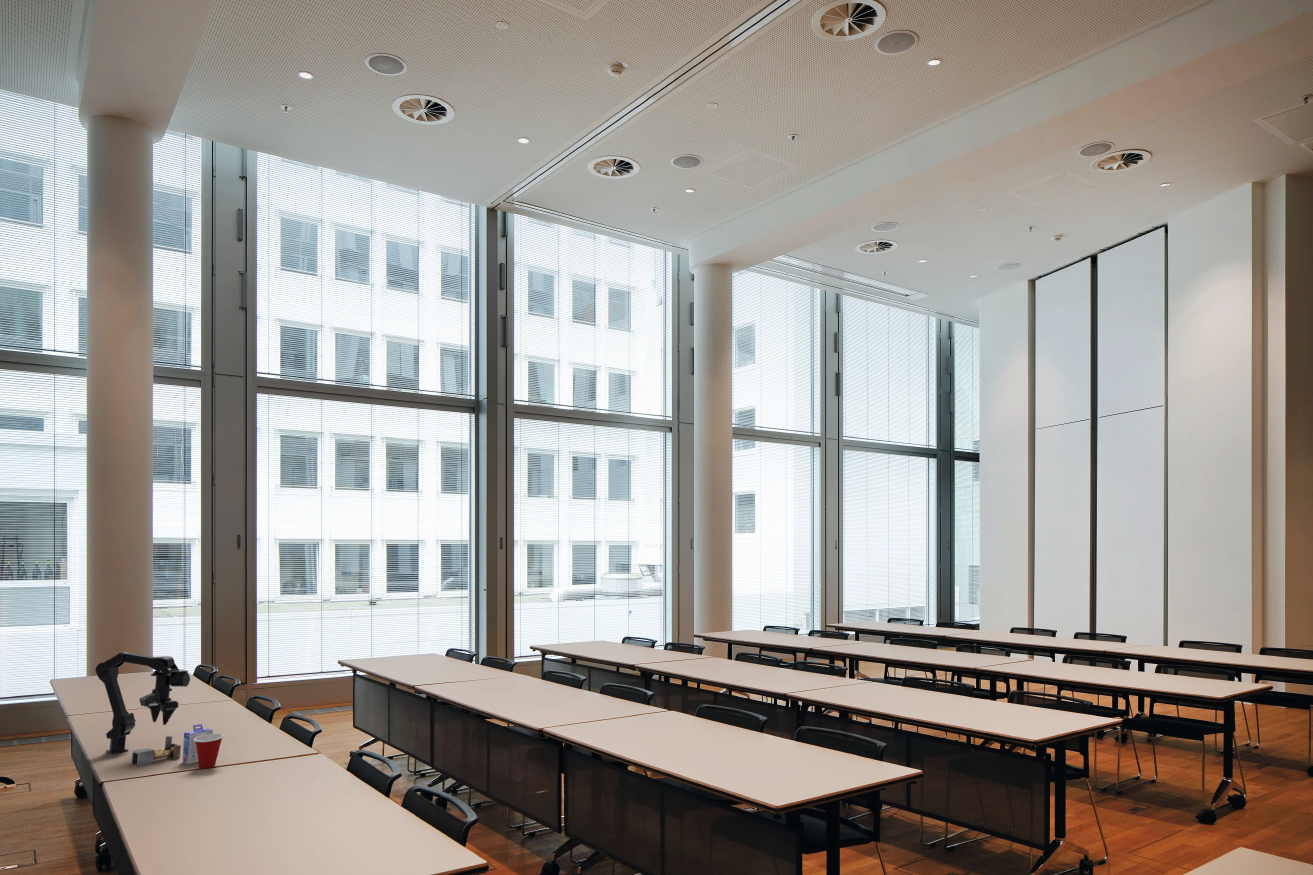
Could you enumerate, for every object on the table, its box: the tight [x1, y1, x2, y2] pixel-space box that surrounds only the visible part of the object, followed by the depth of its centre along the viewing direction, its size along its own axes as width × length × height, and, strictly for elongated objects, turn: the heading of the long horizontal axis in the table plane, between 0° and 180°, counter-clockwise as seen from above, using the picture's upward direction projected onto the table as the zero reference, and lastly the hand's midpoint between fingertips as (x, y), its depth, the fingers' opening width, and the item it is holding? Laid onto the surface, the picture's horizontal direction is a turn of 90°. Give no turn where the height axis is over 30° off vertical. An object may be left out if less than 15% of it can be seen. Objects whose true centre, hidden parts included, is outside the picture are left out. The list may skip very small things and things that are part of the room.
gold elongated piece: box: [154, 735, 174, 761], centre depth 351 cm, size 10×4×8 cm, turn 145°
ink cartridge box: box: [182, 723, 214, 765], centre depth 350 cm, size 10×6×14 cm, turn 145°
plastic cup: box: [194, 732, 224, 769], centre depth 342 cm, size 11×11×12 cm
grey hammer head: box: [130, 747, 156, 767], centre depth 345 cm, size 6×6×5 cm
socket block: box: [167, 742, 182, 760], centre depth 355 cm, size 2×6×5 cm, turn 55°
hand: (159, 723), depth 364 cm, fingers open, 9 cm apart
